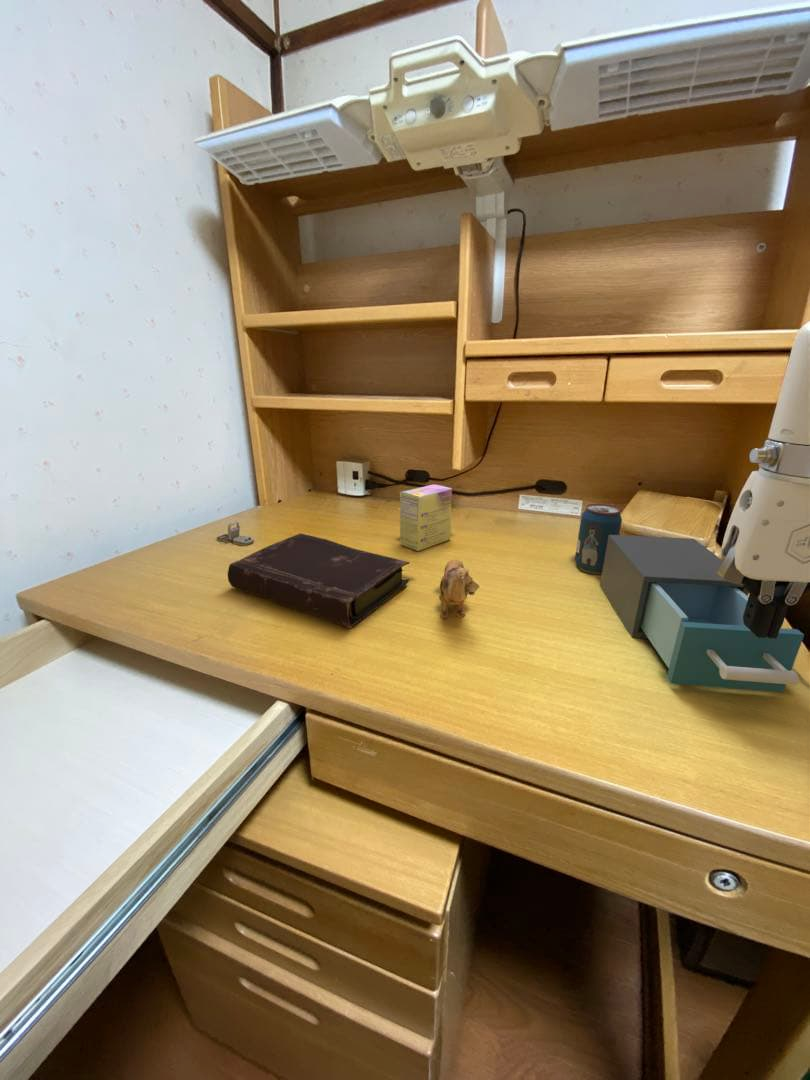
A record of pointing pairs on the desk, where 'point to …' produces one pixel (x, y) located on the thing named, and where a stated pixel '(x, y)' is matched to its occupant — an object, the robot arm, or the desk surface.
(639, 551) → the drawer cabinet casing
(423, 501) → the box
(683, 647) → the teal drawer
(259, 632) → the desk surface
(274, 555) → the diary
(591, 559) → the soda can
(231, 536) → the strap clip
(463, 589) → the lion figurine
